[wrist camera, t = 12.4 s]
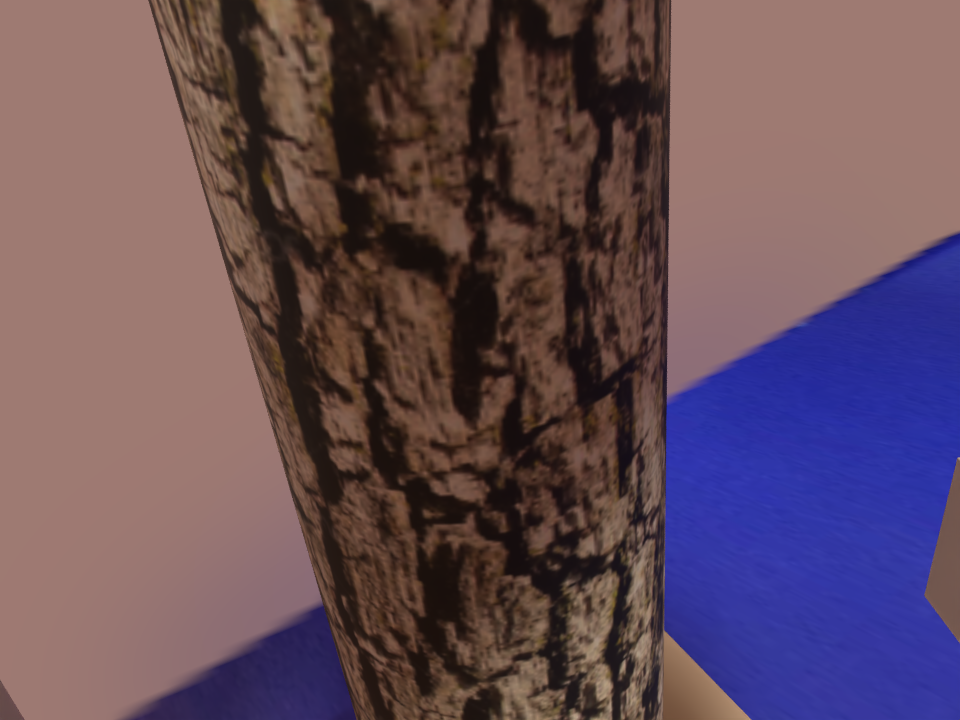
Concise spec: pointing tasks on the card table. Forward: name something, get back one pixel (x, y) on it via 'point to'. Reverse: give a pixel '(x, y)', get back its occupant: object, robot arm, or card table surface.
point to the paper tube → (455, 328)
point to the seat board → (692, 690)
